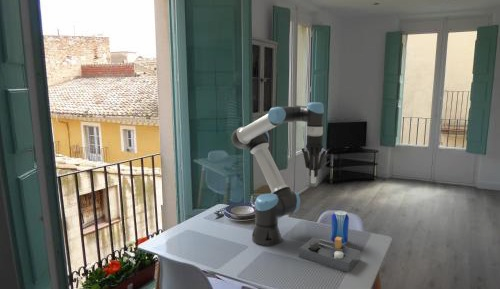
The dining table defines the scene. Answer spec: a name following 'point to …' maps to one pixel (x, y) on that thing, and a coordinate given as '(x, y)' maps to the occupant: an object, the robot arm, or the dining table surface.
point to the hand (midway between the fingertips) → (313, 182)
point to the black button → (314, 246)
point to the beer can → (339, 226)
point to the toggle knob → (338, 242)
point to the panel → (330, 255)
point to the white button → (338, 254)
